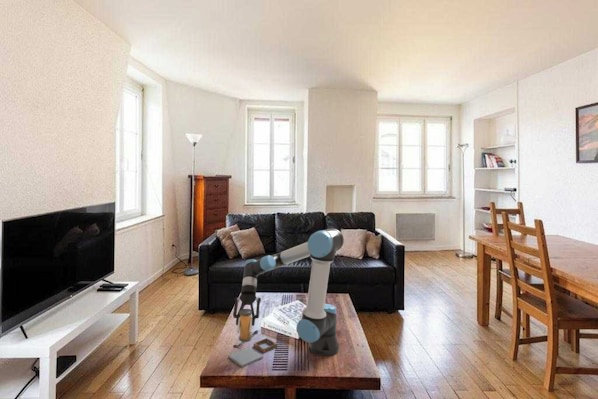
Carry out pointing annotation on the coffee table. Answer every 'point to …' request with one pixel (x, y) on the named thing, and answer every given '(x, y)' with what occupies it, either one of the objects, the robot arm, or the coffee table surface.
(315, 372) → the coffee table surface
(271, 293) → the coffee table surface
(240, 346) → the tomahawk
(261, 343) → the square wooden frame
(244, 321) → the orange grey capped cylinder
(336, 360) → the coffee table surface
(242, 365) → the rubber mat
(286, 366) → the coffee table surface
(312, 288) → the robot arm
